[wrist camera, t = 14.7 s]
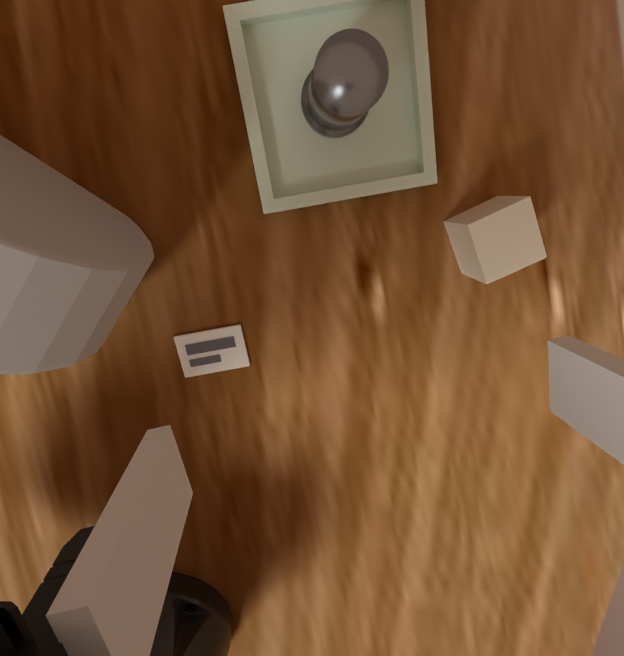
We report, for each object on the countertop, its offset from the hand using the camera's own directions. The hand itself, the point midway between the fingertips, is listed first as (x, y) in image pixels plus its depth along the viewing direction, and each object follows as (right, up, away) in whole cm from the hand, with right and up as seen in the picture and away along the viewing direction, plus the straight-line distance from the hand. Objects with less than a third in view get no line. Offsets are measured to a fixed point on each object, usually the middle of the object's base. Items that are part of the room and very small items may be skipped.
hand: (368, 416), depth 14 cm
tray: (0, +20, +18) cm, 28 cm away
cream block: (+13, +11, +22) cm, 28 cm away
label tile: (-11, +1, +24) cm, 26 cm away
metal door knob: (0, +20, +18) cm, 27 cm away
